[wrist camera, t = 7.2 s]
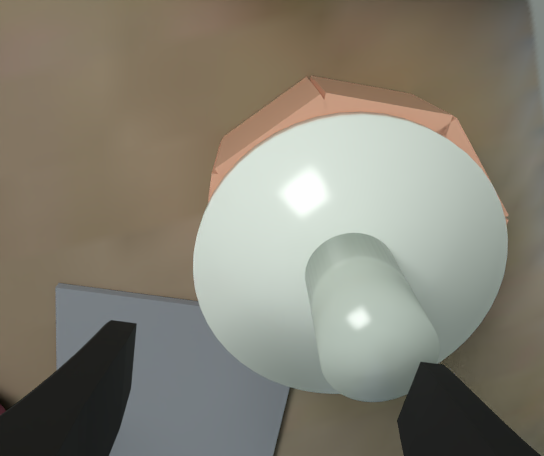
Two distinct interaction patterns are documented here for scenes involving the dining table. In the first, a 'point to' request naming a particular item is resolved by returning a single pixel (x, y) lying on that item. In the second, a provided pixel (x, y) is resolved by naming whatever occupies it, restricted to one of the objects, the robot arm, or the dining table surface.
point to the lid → (349, 254)
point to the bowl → (327, 100)
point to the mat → (175, 377)
